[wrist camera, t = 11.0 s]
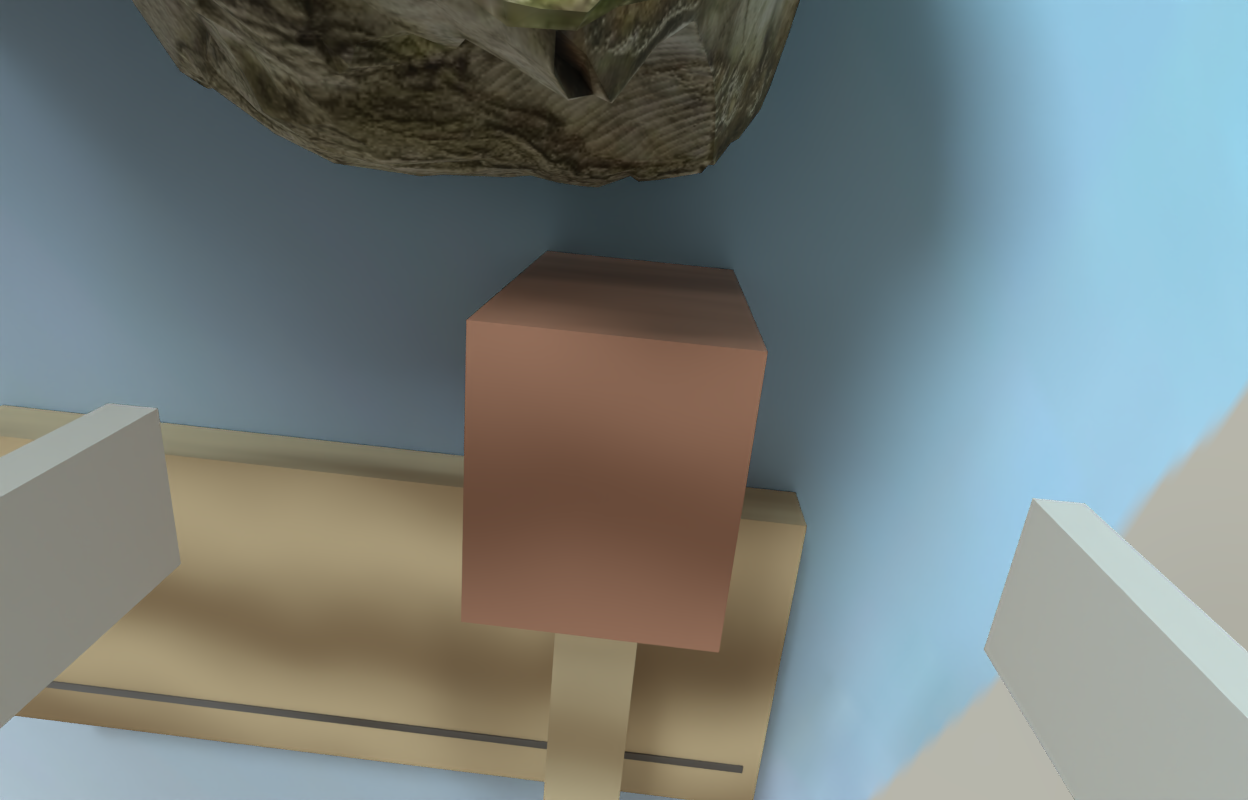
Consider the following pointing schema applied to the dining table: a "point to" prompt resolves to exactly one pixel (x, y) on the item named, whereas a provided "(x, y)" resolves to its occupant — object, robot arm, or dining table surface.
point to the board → (395, 624)
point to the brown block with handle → (606, 479)
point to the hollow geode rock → (489, 79)
